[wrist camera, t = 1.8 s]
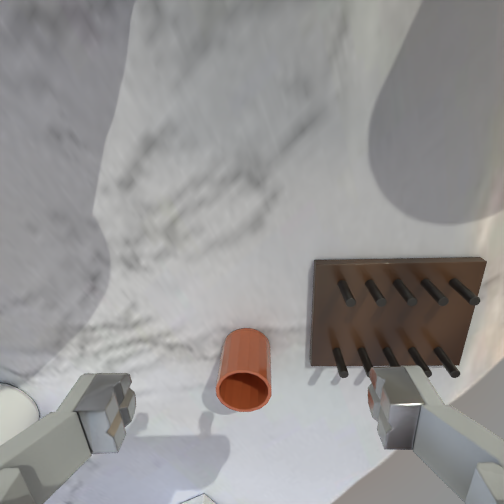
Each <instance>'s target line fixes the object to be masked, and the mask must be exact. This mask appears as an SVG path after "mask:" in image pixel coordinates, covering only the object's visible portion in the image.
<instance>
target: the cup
mask: <svg viewBox="0 0 504 504" xmlns="http://www.w3.org/2000/svg"><path fill="white" fill-rule="evenodd" d="M216 395H217V397H218V399H219V400H220V402H221V403H222V404H223V405H225V406H226V407H228V408H229V409H232V410H235V411H239V412H251V411H254V410H257V409H260V408H262V407H263V406H264V405H266V404H267V403H268V401H269V399H270V397H271V360H270V344H269V341H268V339H267V338H266V336H265V335H264V334H262V333H261V332H259V331H257V330H255V329H250V328H242V329H238V330H235V331H233V332H231V333H230V334H229V335H228V336H227V337H226V339H225V341H224V345H223V349H222V354H221V360H220V366H219V372H218V378H217V383H216Z"/></svg>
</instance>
